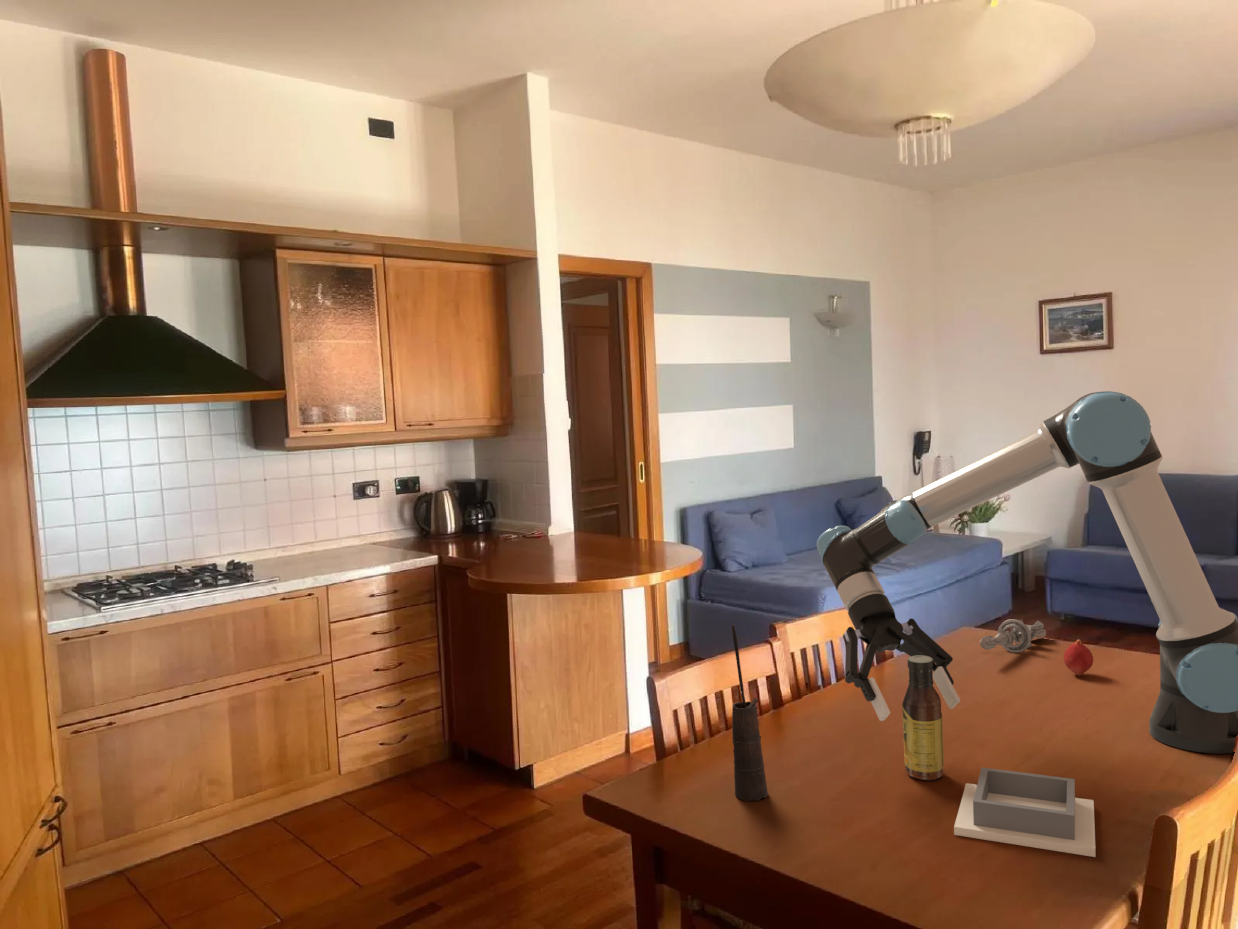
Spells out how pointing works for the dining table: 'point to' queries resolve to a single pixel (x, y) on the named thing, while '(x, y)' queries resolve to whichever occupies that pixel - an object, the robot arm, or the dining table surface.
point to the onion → (1078, 658)
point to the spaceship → (1014, 636)
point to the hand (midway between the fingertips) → (920, 711)
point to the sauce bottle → (922, 722)
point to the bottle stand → (1027, 812)
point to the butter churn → (747, 745)
